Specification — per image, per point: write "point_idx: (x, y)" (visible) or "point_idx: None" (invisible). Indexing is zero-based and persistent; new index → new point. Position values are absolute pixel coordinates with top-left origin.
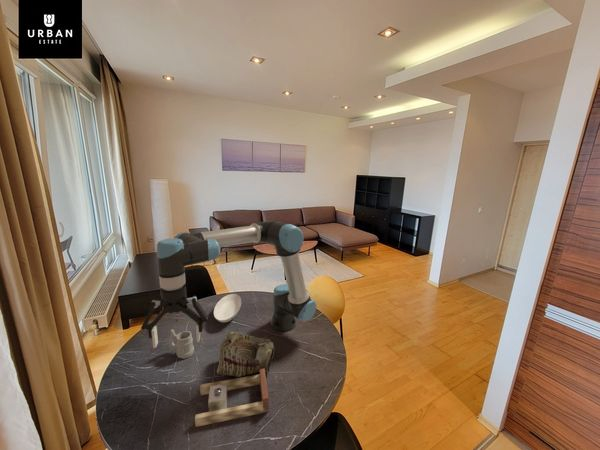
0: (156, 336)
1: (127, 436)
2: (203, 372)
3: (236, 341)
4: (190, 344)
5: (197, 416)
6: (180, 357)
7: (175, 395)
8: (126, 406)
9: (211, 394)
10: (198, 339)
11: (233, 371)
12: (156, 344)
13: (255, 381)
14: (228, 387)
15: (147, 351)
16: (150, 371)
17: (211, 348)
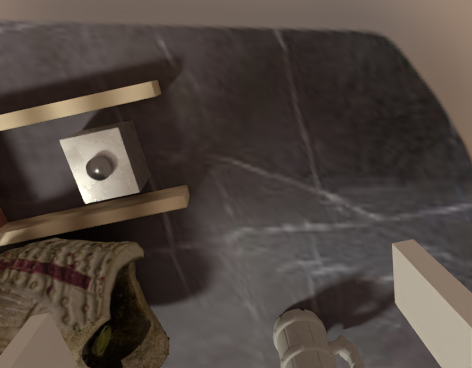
0: (447, 350)
1: (348, 54)
2: (211, 262)
3: None
4: (283, 354)
5: (145, 89)
6: (305, 311)
7: (265, 184)
8: (395, 149)
9: (120, 159)
10: (18, 338)
11: (65, 243)
12: (400, 275)
13: (13, 226)
14: (100, 206)
15: None
16: (377, 264)
17: (222, 346)
